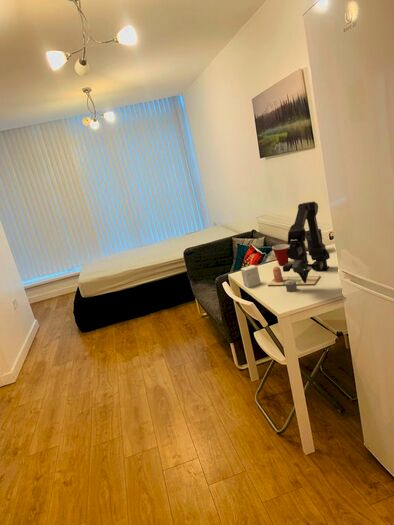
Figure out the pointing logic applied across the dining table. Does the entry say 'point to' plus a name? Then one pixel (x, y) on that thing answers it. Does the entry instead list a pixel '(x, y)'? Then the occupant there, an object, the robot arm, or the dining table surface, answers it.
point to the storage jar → (309, 241)
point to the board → (299, 282)
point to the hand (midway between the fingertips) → (305, 282)
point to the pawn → (277, 274)
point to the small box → (250, 276)
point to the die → (291, 286)
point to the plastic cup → (281, 253)
